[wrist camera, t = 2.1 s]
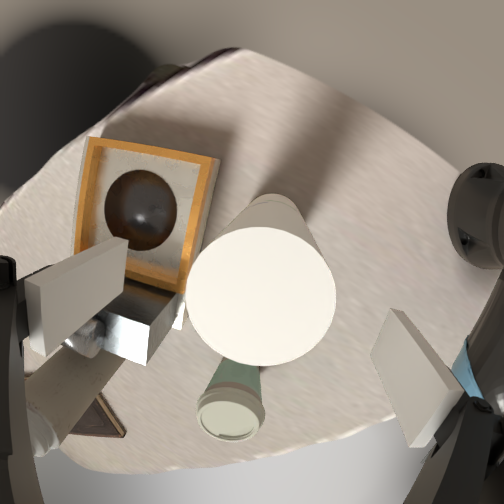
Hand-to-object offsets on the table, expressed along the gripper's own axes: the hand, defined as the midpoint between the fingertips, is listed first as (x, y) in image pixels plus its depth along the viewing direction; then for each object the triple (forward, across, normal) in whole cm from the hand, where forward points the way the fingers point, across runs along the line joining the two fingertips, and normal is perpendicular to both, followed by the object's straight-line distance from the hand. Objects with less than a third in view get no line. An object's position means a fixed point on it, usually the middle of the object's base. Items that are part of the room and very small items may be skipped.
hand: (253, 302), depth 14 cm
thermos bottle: (+26, +20, +24) cm, 40 cm away
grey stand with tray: (+25, +16, +5) cm, 31 cm away
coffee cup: (+25, -2, +22) cm, 34 cm away
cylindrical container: (+25, 0, 0) cm, 25 cm away
